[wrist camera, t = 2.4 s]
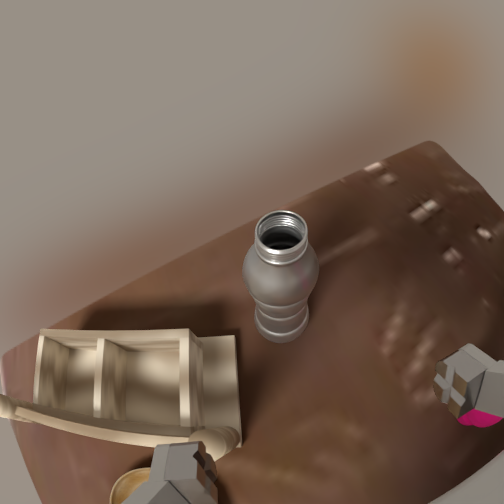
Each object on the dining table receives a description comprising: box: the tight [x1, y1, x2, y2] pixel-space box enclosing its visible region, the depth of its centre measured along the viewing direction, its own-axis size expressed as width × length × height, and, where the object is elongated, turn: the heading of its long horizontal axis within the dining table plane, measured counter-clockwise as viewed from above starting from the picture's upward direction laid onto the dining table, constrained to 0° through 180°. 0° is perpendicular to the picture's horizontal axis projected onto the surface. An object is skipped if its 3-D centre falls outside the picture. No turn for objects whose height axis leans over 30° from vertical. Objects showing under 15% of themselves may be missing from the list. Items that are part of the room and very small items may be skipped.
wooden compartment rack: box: [0, 328, 242, 461], centre depth 28 cm, size 14×30×12 cm, turn 94°
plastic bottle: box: [242, 210, 319, 343], centre depth 28 cm, size 6×7×20 cm
